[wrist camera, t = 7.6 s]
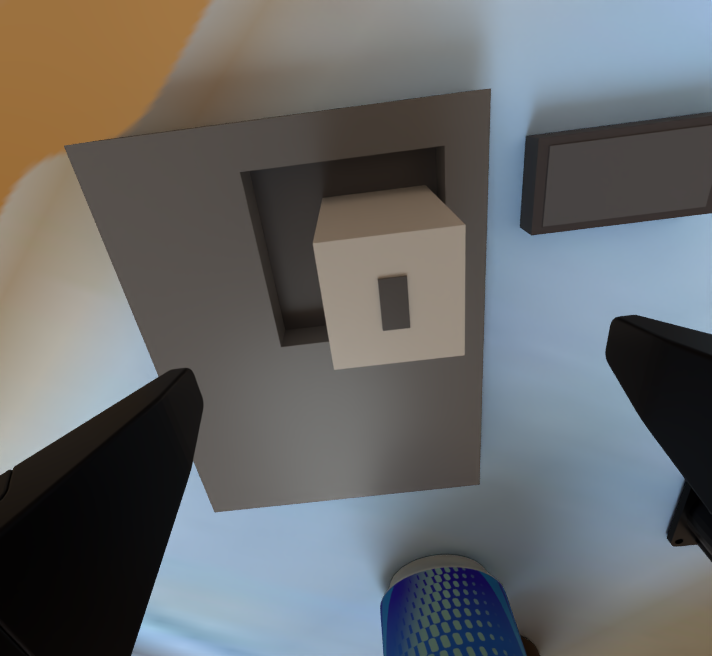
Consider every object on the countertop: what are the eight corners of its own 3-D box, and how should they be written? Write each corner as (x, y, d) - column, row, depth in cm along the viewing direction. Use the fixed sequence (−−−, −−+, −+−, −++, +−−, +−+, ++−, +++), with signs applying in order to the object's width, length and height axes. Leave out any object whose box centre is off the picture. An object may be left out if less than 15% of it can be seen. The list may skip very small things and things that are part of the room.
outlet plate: (469, 456, 24) (479, 484, 22) (223, 482, 24) (214, 512, 22) (473, 90, 15) (491, 88, 13) (95, 141, 16) (64, 145, 14)
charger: (428, 281, 18) (465, 356, 13) (336, 292, 18) (334, 371, 13) (425, 185, 16) (466, 225, 11) (322, 197, 16) (312, 244, 11)
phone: (690, 206, 17) (714, 213, 16) (519, 227, 18) (531, 235, 16) (714, 111, 16) (742, 112, 15) (525, 136, 16) (539, 138, 15)
